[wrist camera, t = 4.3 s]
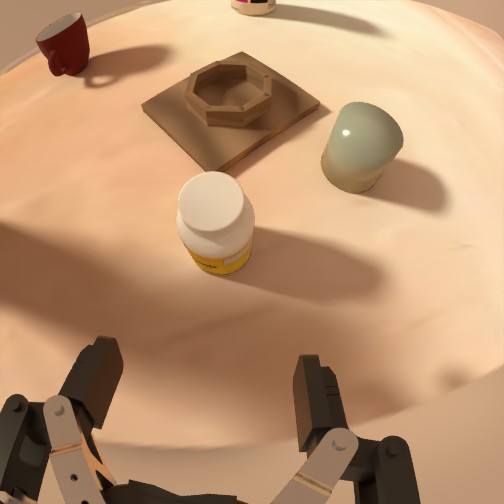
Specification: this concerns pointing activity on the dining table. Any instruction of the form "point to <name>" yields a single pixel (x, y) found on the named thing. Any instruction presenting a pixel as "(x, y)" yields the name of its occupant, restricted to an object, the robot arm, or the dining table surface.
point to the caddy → (228, 110)
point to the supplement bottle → (216, 223)
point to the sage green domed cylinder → (360, 147)
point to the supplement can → (253, 6)
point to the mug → (65, 45)
